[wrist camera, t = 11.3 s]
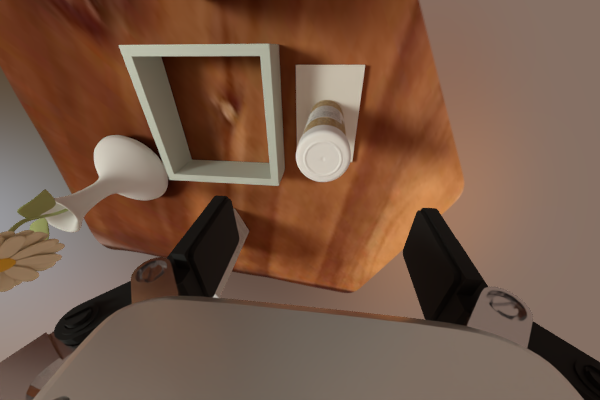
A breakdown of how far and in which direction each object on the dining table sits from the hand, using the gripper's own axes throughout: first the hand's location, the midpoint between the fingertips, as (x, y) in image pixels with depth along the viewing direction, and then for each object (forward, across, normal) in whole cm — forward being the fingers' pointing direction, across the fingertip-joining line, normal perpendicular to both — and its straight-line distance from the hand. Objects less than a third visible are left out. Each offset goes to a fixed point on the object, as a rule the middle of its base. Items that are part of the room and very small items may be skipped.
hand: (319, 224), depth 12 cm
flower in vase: (+22, +30, +8) cm, 38 cm away
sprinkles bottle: (+22, 0, 0) cm, 22 cm away
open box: (+22, +14, 0) cm, 26 cm away
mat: (+22, 0, 0) cm, 22 cm away
